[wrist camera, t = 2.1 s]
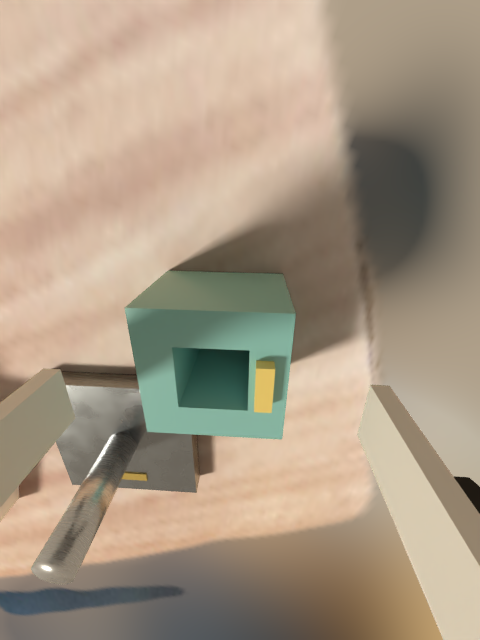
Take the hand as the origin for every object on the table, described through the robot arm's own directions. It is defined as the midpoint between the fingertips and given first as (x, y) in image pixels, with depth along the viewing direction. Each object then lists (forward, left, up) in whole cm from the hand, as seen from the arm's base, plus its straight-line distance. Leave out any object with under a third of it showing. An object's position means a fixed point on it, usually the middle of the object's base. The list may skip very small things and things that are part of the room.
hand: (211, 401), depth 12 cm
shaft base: (+10, -8, -7) cm, 14 cm away
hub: (0, 0, -7) cm, 7 cm away
